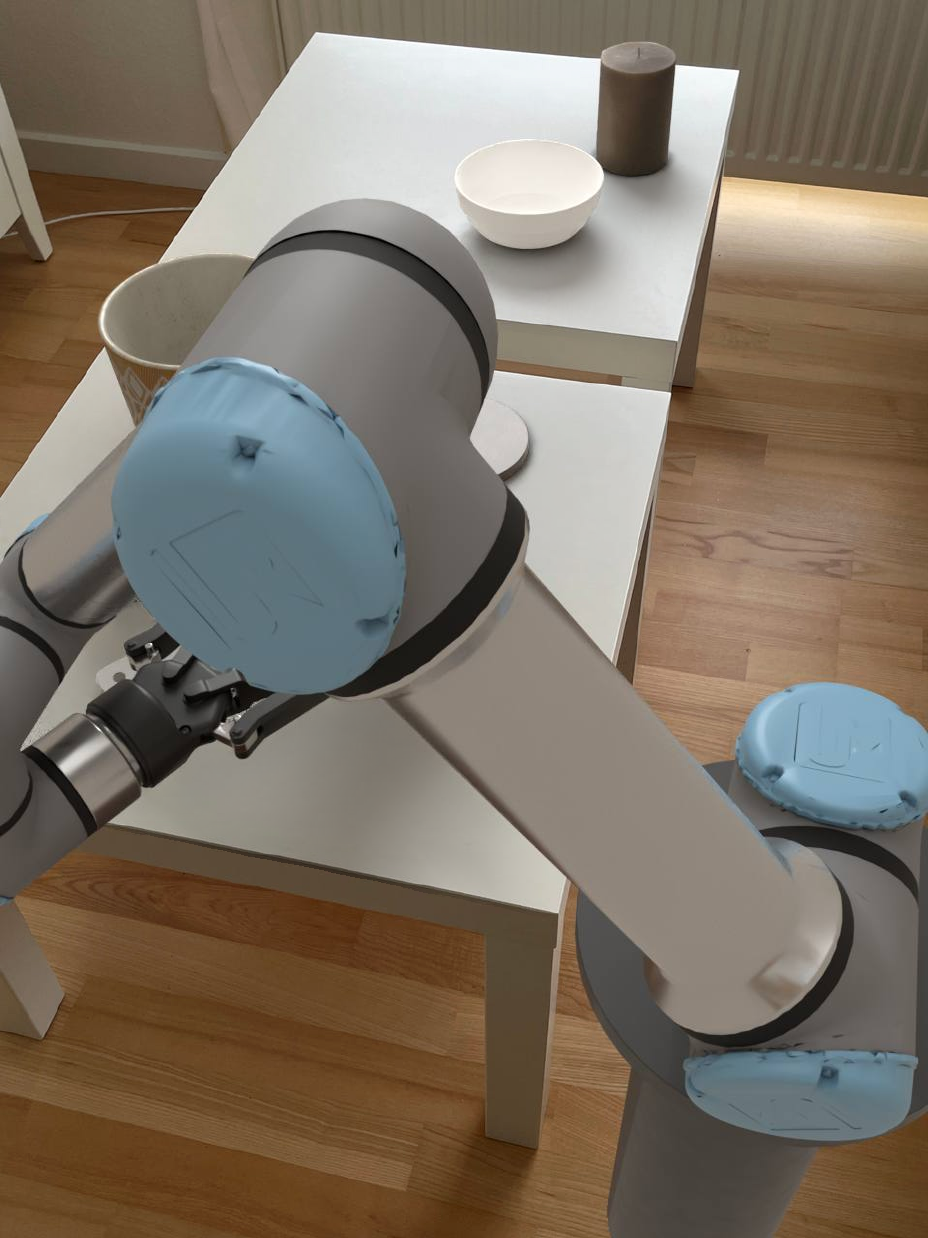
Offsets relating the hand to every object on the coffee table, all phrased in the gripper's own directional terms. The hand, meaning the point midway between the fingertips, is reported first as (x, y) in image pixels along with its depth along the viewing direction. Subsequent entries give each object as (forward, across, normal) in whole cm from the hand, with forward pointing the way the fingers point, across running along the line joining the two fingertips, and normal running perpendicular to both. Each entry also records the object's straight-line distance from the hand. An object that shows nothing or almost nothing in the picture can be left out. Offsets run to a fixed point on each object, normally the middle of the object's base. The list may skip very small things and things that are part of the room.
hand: (349, 575), depth 99 cm
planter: (+13, -34, -13) cm, 39 cm away
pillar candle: (+87, -39, -13) cm, 96 cm away
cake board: (+28, -15, -13) cm, 35 cm away
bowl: (+65, -38, -13) cm, 76 cm away
